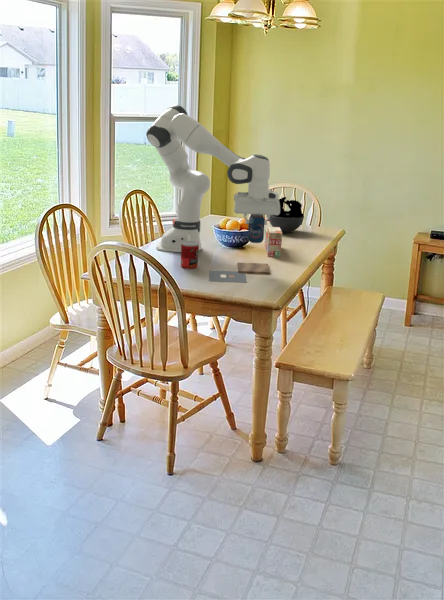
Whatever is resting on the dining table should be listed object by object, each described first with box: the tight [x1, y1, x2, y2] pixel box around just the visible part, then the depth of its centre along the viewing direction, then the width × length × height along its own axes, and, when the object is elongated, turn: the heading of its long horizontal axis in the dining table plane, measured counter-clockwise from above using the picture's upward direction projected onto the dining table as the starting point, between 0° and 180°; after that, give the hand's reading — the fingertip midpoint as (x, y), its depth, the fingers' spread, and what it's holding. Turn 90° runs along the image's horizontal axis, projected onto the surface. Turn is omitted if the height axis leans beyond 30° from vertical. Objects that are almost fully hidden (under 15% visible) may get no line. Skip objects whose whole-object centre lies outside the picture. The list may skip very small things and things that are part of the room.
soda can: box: [247, 214, 266, 244], centre depth 301 cm, size 7×7×12 cm
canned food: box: [180, 241, 200, 270], centre depth 305 cm, size 8×8×11 cm
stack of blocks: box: [264, 226, 283, 258], centre depth 339 cm, size 21×6×12 cm, turn 1°
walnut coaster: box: [236, 261, 271, 275], centre depth 308 cm, size 14×14×1 cm
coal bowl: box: [268, 196, 305, 234], centre depth 380 cm, size 20×20×19 cm
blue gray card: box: [208, 269, 247, 284], centre depth 295 cm, size 16×16×1 cm
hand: (256, 224), depth 301 cm, fingers closed on soda can, 7 cm apart
